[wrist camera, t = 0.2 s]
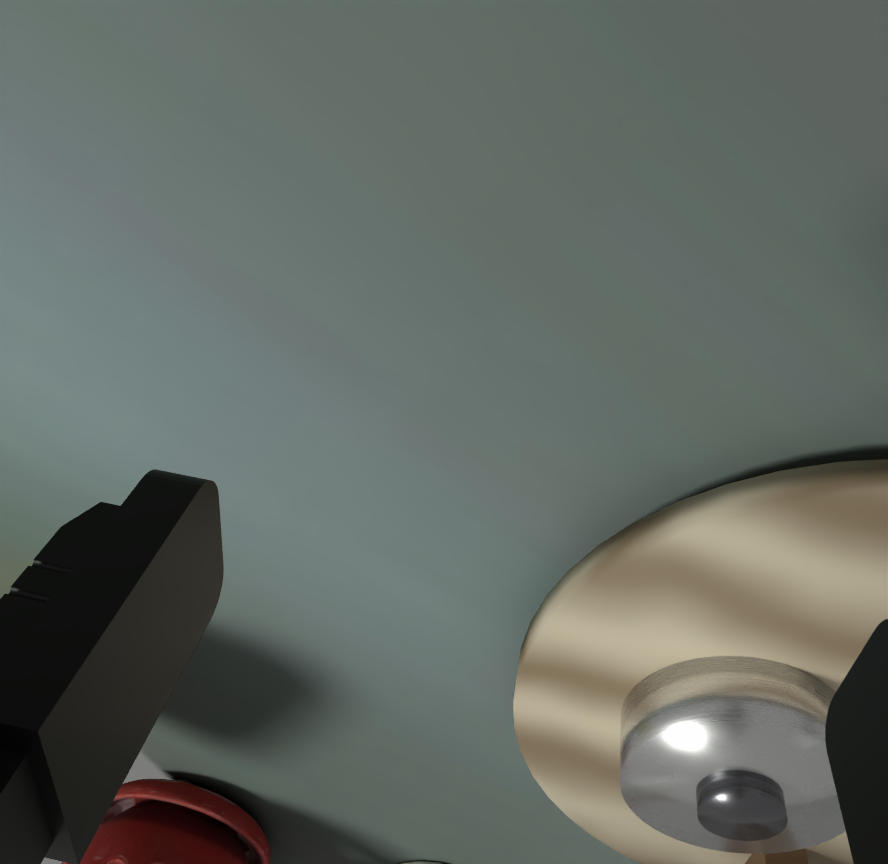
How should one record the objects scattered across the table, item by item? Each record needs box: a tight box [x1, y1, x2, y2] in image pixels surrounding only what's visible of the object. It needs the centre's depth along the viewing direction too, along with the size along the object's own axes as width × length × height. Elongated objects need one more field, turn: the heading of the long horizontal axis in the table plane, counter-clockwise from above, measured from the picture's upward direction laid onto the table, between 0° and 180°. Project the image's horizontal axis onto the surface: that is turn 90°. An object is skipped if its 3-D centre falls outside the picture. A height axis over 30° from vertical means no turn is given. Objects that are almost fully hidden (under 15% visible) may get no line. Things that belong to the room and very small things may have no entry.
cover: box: [620, 656, 846, 854], centre depth 32 cm, size 9×9×4 cm
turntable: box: [513, 459, 888, 864], centre depth 32 cm, size 28×28×7 cm
